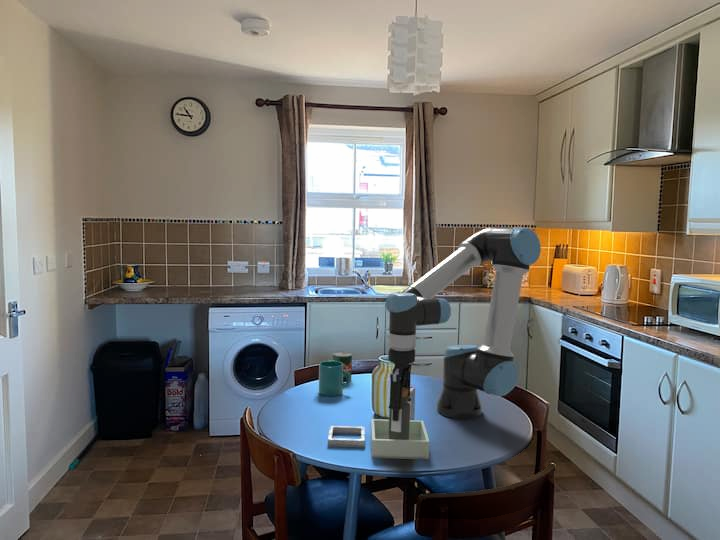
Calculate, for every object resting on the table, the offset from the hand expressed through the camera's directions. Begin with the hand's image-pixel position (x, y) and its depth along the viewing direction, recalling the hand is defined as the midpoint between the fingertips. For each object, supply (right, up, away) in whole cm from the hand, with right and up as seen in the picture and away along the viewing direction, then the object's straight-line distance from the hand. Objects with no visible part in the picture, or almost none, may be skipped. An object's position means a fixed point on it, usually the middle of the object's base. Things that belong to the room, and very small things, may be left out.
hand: (399, 427), depth 152 cm
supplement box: (+3, -5, +19) cm, 20 cm away
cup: (-21, -1, +47) cm, 52 cm away
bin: (0, -6, 0) cm, 6 cm away
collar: (-15, -5, +5) cm, 17 cm away
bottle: (0, -4, 0) cm, 4 cm away
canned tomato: (-19, 0, +64) cm, 67 cm away
